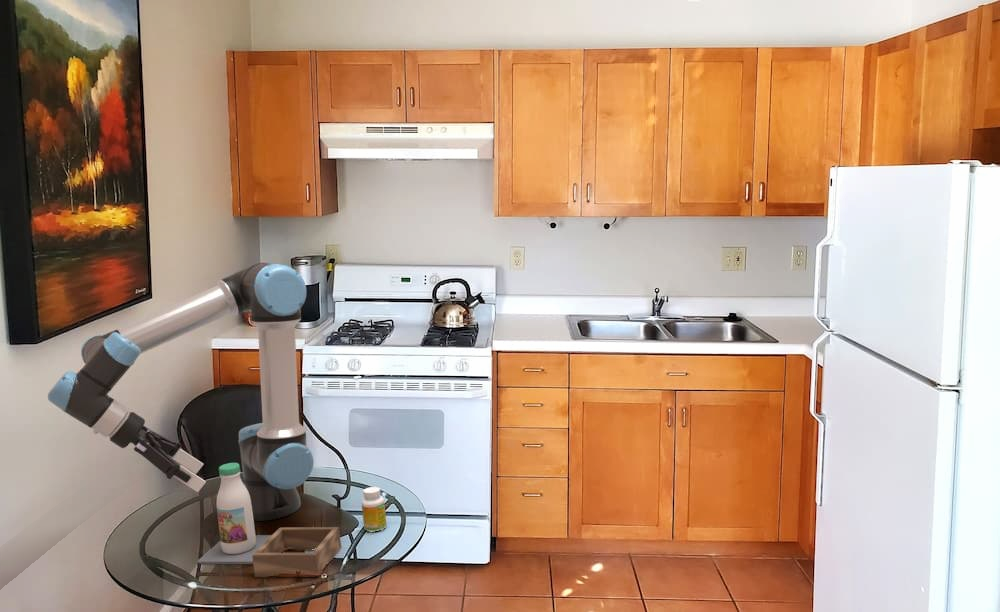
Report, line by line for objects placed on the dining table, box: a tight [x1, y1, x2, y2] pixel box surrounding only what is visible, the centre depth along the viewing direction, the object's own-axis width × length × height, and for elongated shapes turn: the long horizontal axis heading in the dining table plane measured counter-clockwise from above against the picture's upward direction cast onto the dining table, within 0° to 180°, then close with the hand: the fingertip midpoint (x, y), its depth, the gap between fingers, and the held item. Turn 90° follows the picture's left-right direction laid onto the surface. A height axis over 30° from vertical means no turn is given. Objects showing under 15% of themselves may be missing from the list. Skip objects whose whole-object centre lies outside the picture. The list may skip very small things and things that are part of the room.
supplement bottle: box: [361, 486, 387, 533], centre depth 203 cm, size 5×5×10 cm
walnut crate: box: [252, 526, 342, 578], centre depth 188 cm, size 14×14×5 cm
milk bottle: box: [216, 462, 256, 554], centre depth 195 cm, size 8×8×20 cm
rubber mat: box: [196, 534, 273, 565], centre depth 197 cm, size 14×14×1 cm
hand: (200, 477), depth 192 cm, fingers open, 13 cm apart
